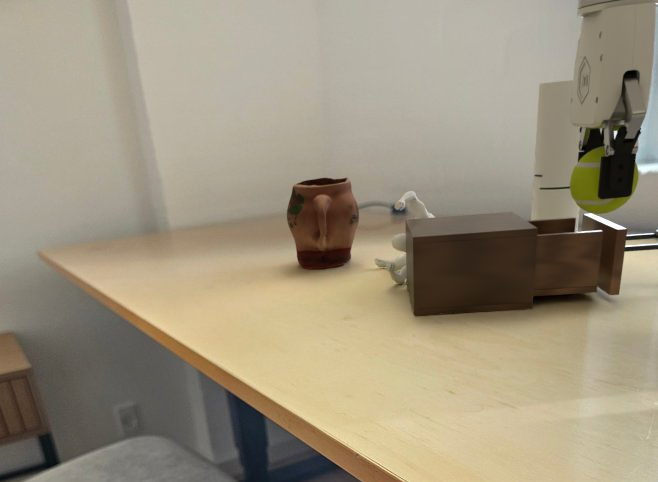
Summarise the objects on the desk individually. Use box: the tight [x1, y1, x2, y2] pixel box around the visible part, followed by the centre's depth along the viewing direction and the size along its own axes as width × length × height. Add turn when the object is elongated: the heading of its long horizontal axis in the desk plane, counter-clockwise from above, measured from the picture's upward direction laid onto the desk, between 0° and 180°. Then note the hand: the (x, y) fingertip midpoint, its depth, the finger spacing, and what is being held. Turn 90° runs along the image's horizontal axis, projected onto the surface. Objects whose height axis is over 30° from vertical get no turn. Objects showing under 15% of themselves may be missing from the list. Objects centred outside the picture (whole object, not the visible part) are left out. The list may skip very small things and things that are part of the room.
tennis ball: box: [570, 146, 639, 215], centre depth 69 cm, size 7×7×7 cm
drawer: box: [526, 213, 658, 297], centre depth 85 cm, size 22×13×8 cm, turn 87°
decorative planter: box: [286, 177, 360, 270], centre depth 112 cm, size 20×12×14 cm, turn 5°
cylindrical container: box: [530, 79, 582, 232], centre depth 101 cm, size 7×7×25 cm
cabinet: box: [405, 211, 538, 317], centre depth 86 cm, size 15×15×10 cm
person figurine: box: [373, 190, 436, 285], centre depth 101 cm, size 13×13×18 cm
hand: (602, 191), depth 70 cm, fingers closed on tennis ball, 6 cm apart
